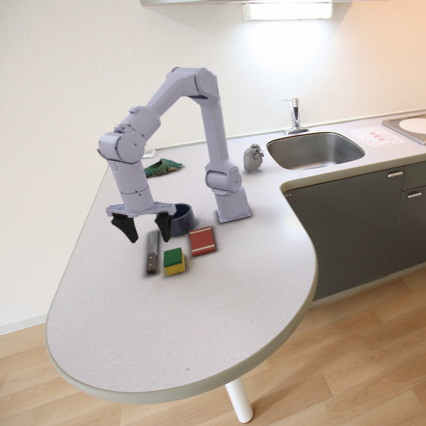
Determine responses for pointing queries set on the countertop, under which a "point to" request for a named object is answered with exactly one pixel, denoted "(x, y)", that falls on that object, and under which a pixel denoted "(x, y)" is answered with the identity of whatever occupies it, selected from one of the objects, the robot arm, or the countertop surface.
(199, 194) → the countertop surface
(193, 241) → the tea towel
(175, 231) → the pot
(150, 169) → the green clog
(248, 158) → the heart
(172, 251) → the sponge
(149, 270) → the knife
